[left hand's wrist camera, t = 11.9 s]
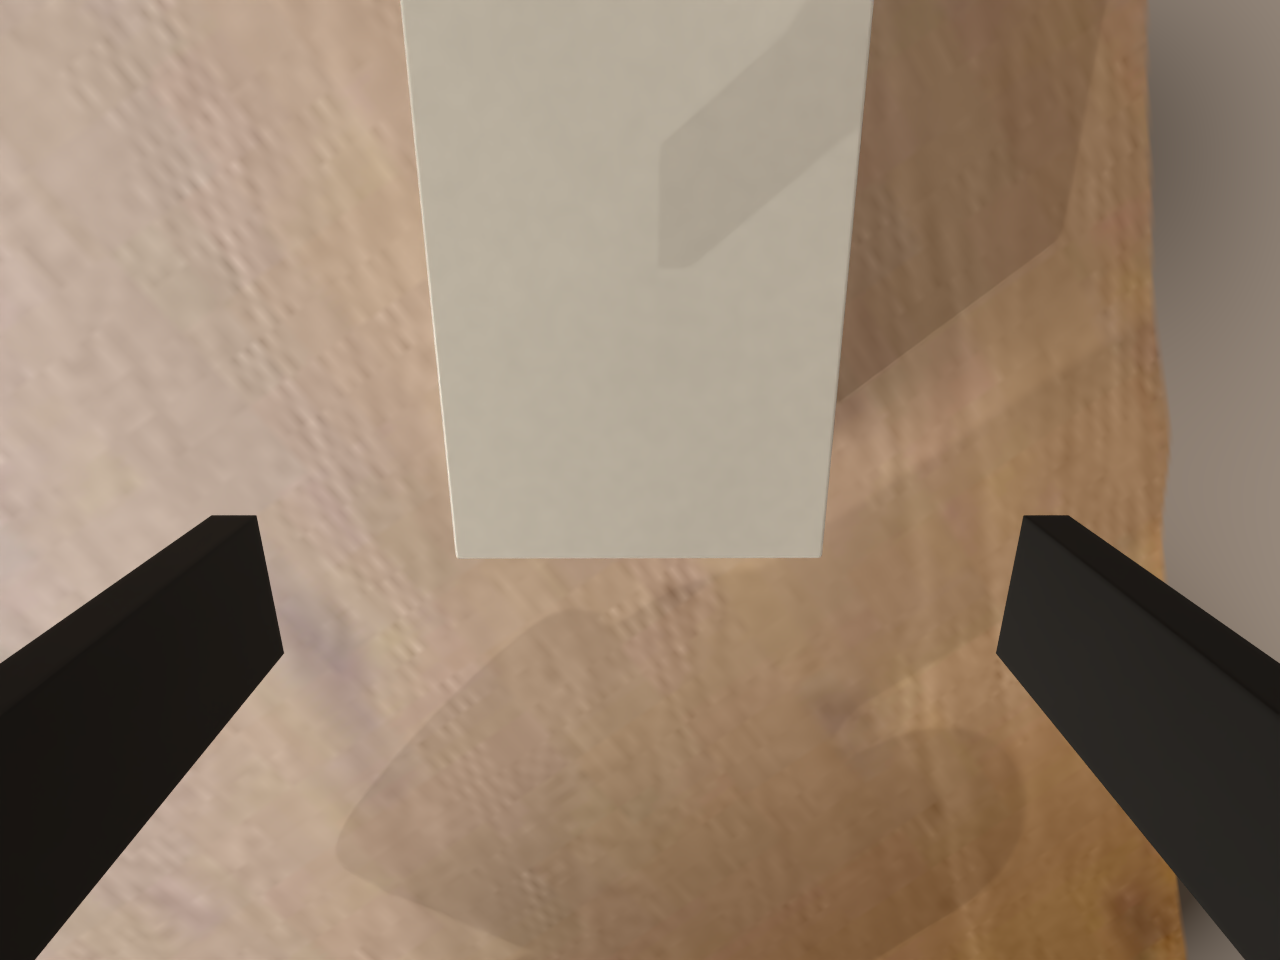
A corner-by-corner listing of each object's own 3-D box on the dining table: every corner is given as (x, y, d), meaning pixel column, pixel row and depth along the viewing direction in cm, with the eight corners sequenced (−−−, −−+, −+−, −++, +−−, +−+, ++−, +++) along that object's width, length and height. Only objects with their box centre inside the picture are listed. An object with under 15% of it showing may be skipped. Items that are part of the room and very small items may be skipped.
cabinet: (477, -36, 23) (380, -187, 14) (798, -37, 23) (893, -189, 14) (510, 457, 29) (455, 560, 20) (767, 456, 29) (822, 559, 20)
